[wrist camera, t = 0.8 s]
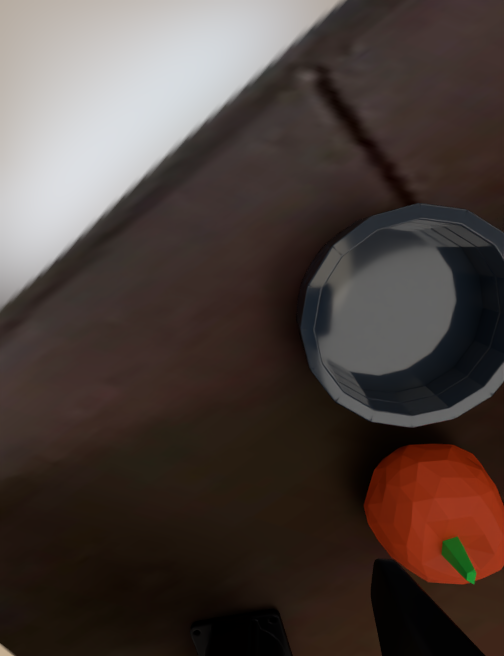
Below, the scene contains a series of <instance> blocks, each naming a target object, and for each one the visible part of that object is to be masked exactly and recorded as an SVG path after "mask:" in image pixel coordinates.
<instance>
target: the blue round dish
mask: <svg viewBox="0 0 504 656" xmlns="http://www.w3.org/2000/svg"><path fill="white" fill-rule="evenodd" d="M296 322H297V326H298V330H299V335H300V338H301V342H302V346H303V350H304V354H305V357H306V360H307V363H308V366H309V368H310V370H311V372H312V373H313V374H314V376H315V377H316V378H317V380H318V381H319V382H320V384H321V385H322V386H323V388H324V389H325V390H326V392H327V393H328V394H329V395H330V397H331V398H332V399H333V400H334V401H335V402H336V403H338V404H339V405H341V406H343V407H345V408H346V409H348V410H350V411H352V412H353V413H355V414H357V415H359V416H360V417H362V418H364V419H366V420H367V421H370V422H373V423H380V424H387V425H394V426H401V427H408V428H411V427H412V428H414V427H419V426H424V425H429V424H433V423H438V422H443V421H448V420H452V419H455V418H457V417H459V416H460V415H462V414H464V413H465V412H467V411H469V410H470V409H472V408H473V407H475V406H477V405H478V404H480V403H482V402H483V401H485V400H487V399H488V398H490V397H492V395H493V394H494V393H495V392H496V391H497V390H498V388H499V387H500V386H501V385H502V383H503V382H504V232H502V231H501V230H499V229H498V228H496V227H494V226H493V225H491V224H490V223H488V222H486V221H485V220H483V219H482V218H480V217H479V216H477V215H475V214H474V213H472V212H471V211H469V210H466V209H462V208H454V207H447V206H439V205H432V204H424V203H416V204H413V205H409V206H405V207H402V208H398V209H394V210H391V211H387V212H383V213H380V214H376V215H372V216H369V217H366V218H363V219H360V220H358V221H355V222H354V223H353V224H351V225H350V226H348V227H347V228H345V229H344V230H342V231H341V232H339V233H338V234H337V235H335V236H334V237H333V238H332V239H331V240H330V241H328V242H327V243H326V244H325V245H324V246H323V247H322V248H321V250H320V251H319V252H318V254H317V255H316V256H315V258H314V259H313V261H312V262H311V264H310V266H309V268H308V269H307V271H306V273H305V276H304V278H303V279H302V283H301V286H300V291H299V295H298V302H297V313H296Z"/></svg>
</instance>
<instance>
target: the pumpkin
mask: <svg viewBox="0 0 504 656" xmlns="http://www.w3.org/2000/svg"><path fill="white" fill-rule="evenodd" d="M364 509H365V513H366V517H367V522H368V524H369V526H370V528H371V530H372V531H373V533H374V535H375V536H376V538H377V540H378V541H379V542H380V544H381V545H382V546H383V547H384V549H385V550H386V551H387V552H388V554H389V555H390V556H391V557H392V558H393V559H395V560H396V561H397V562H399V563H400V564H401V565H403V566H404V567H405V568H407V569H408V570H410V571H411V572H413V573H414V574H416V575H418V576H419V577H421V578H422V579H424V580H426V581H427V582H434V583H447V584H466V583H470V582H471V583H473V584H474V582H475V581H476V580H479V579H482V578H484V577H486V576H488V575H491V574H493V573H495V572H497V571H499V570H501V569H502V567H503V566H504V503H503V501H502V498H501V496H500V492H498V490H497V488H496V485H495V484H494V482H493V481H492V480H491V478H490V477H489V475H488V474H487V473H486V471H485V469H484V468H483V466H482V464H481V463H480V462H479V461H478V460H477V458H476V457H475V456H474V455H473V454H472V453H470V452H468V451H466V450H463V449H461V448H459V447H457V446H455V445H451V444H416V445H406V446H402V447H399V448H398V449H396V450H395V451H394V452H392V453H391V454H389V455H388V456H387V457H385V458H384V459H383V460H382V461H381V462H380V463H379V465H378V466H377V467H376V468H375V469H374V472H373V475H372V479H371V482H370V485H369V488H368V492H367V496H366V499H365V503H364Z"/></svg>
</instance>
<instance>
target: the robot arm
mask: <svg viewBox="0 0 504 656" xmlns="http://www.w3.org/2000/svg"><path fill="white" fill-rule="evenodd" d="M371 601H372V607H373V612H374V617H375V622H376V627H377V632H378V637H379V642H380V647H381V652H382V656H485V655H484V654H483V653H482V652H481V651H480V649H479V648H478V647H477V646H476V645H475V644H474V643H473V642H472V641H471V640H470V639H469V638H468V637H467V636H466V635H465V634H464V633H463V631H462V630H461V629H460V628H459V627H458V626H457V625H456V624H455V623H454V622H453V621H452V620H451V619H450V618H449V617H448V616H447V615H446V613H445V612H444V611H443V610H442V609H441V608H440V607H439V606H438V605H437V604H436V603H435V602H434V601H433V600H432V599H431V598H430V597H429V595H428V594H427V593H426V592H425V591H424V590H423V589H422V588H421V587H420V586H419V585H418V584H417V583H416V582H415V581H414V580H413V579H412V577H411V576H410V575H409V574H408V573H407V572H406V571H405V570H404V569H403V568H402V567H401V566H400V565H399V564H398V563H397V562H396V561H395V560H392V559H376V560H375V562H374V565H373V574H372V583H371ZM190 634H191V637H192V640H193V642H194V645H195V648H196V650H197V653H198V655H199V656H293V655H292V652H291V649H290V646H289V642H288V639H287V636H286V633H285V629H284V626H283V623H282V620H281V616H280V613H279V612H278V611H277V610H275V609H268V610H262V611H256V612H250V613H244V614H238V615H232V616H226V617H220V618H214V619H208V620H202V621H196V622H194V623H192V625H191V630H190Z"/></svg>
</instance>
